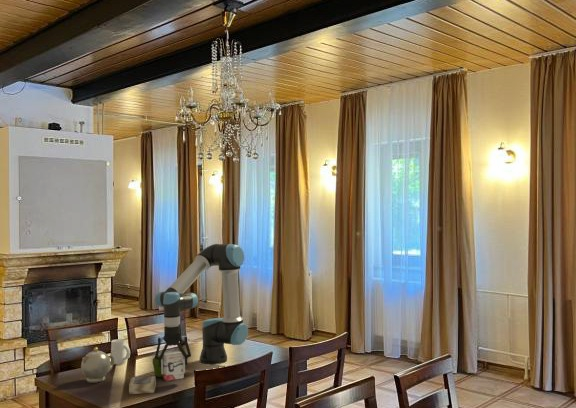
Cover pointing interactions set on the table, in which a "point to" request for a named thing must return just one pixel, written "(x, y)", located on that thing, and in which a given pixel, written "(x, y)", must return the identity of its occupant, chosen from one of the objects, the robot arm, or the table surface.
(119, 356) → the mug
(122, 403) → the table surface
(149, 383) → the plinth
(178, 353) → the ink box
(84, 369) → the teapot
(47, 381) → the table surface
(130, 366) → the table surface
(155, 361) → the apple
